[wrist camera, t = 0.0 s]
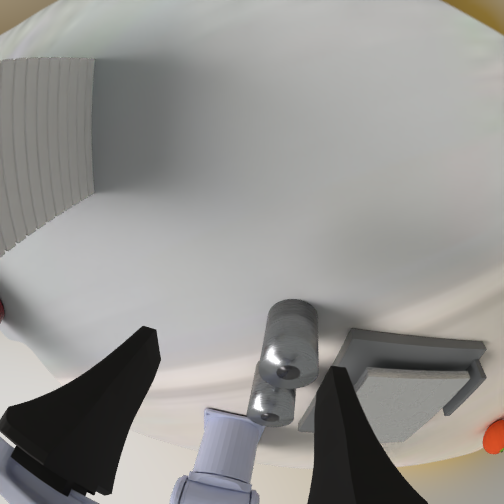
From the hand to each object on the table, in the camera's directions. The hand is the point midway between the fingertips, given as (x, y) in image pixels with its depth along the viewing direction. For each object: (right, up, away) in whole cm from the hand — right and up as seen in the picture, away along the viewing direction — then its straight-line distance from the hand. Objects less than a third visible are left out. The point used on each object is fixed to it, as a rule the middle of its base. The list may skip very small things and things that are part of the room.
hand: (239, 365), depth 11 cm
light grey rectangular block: (-27, +17, +8) cm, 33 cm away
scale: (+15, -11, +15) cm, 24 cm away
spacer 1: (+4, -1, +12) cm, 12 cm away
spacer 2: (+3, -7, +15) cm, 17 cm away
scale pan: (+15, -12, +14) cm, 24 cm away
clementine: (+46, -27, +19) cm, 57 cm away
